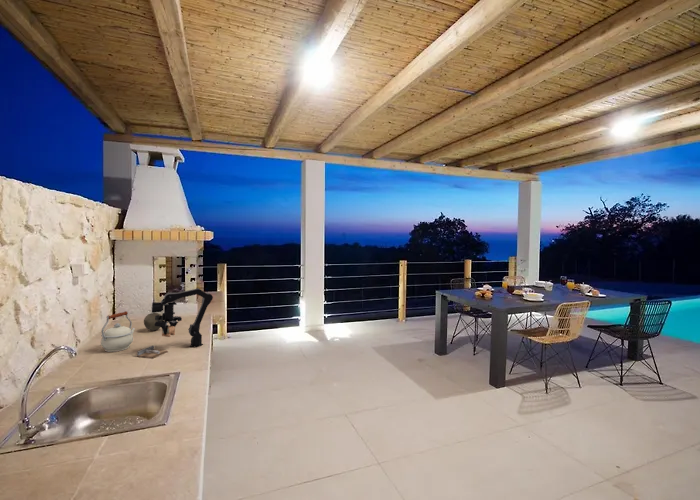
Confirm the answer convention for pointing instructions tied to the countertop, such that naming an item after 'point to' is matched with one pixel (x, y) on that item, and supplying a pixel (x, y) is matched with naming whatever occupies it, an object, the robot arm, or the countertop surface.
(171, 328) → the tan cube
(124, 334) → the kettle
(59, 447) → the countertop surface
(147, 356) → the board
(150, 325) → the cantaloupe
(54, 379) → the countertop surface
